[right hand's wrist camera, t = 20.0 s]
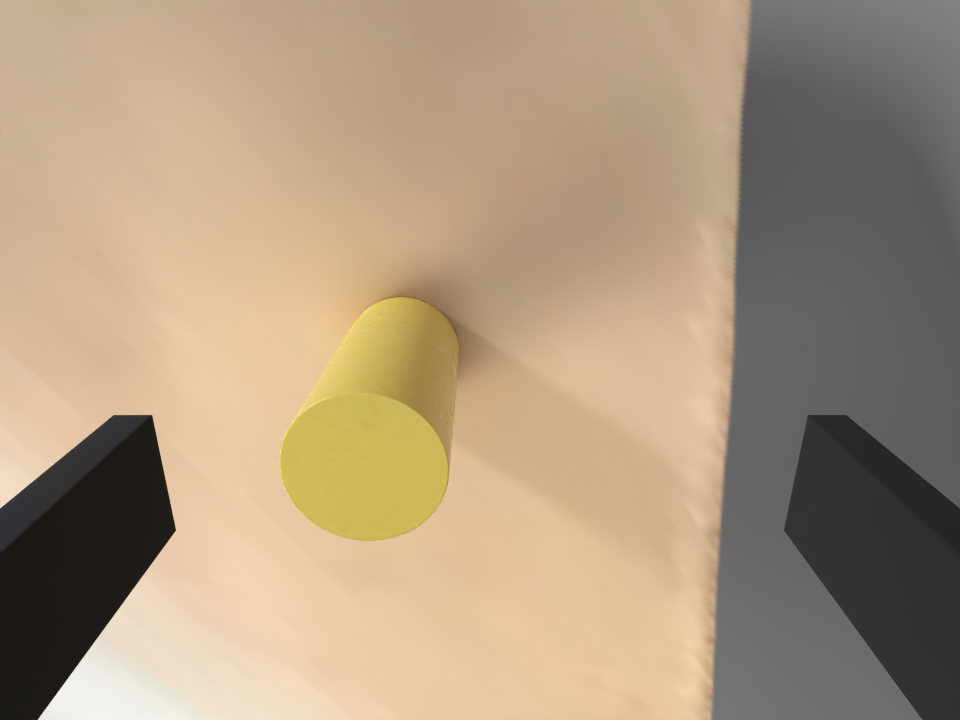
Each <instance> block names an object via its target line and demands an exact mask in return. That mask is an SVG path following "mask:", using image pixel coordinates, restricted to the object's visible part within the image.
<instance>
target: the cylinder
mask: <svg viewBox="0 0 960 720" xmlns="http://www.w3.org/2000/svg"><path fill="white" fill-rule="evenodd" d="M458 361H459V345H458V340H457V336H456V333H455V331H454V329H453V327H452V325H451V324H450V322H449V321H448V320H447V318H446V317H445V316H444V315H443V314H442V313H441V312H440V311H439V310H437V309H436V308H435V307H433V306H431V305H430V304H428V303H426V302H423V301H421V300H417V299H413V298H406V297H395V298H389V299H385V300H382V301H379V302H377V303H375V304H373V305H371V306H370V307H368V308H367V309H366V310H365V311H363V312H362V313H361V314H360V316H359V317H358V318H357V319H356V321H355V322H354V324H353V325H352V327H351V329H350V330H349V332H348V334H347V335H346V337H345V338H344V340H343V342H342V343H341V345H340V346H339V348H338V350H337V351H336V353H335V354H334V356H333V358H332V359H331V361H330V362H329V364H328V366H327V367H326V369H325V370H324V372H323V374H322V375H321V377H320V378H319V380H318V382H317V383H316V385H315V387H314V388H313V390H312V391H311V393H310V395H309V396H308V398H307V399H306V401H305V403H304V404H303V406H302V407H301V409H300V411H299V412H298V414H297V415H296V417H295V419H294V420H293V422H292V423H291V425H290V427H289V428H288V430H287V432H286V434H285V436H284V439H283V442H282V445H281V450H280V456H279V467H280V474H281V478H282V482H283V485H284V487H285V490H286V492H287V494H288V496H289V497H290V499H291V501H292V502H293V504H294V505H295V506H296V507H297V509H298V510H299V511H300V512H301V513H302V514H303V515H304V516H305V517H306V518H307V519H309V520H310V521H311V522H313V523H314V524H315V525H317V526H319V527H320V528H322V529H324V530H326V531H328V532H330V533H333V534H335V535H338V536H341V537H345V538H349V539H354V540H364V541H375V540H384V539H389V538H393V537H397V536H400V535H402V534H405V533H407V532H409V531H411V530H413V529H415V528H416V527H418V526H419V525H421V524H422V523H423V522H424V521H426V520H427V519H428V518H429V517H430V516H431V515H432V514H433V512H434V511H435V510H436V509H437V507H438V506H439V504H440V503H441V501H442V499H443V496H444V494H445V492H446V488H447V485H448V478H449V468H450V456H451V444H452V432H453V420H454V408H455V397H456V385H457V373H458Z"/></svg>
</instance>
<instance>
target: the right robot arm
mask: <svg viewBox="0 0 960 720" xmlns="http://www.w3.org/2000/svg"><path fill="white" fill-rule="evenodd" d="M175 531H176V528H175V523H174V519H173V514H172V509H171V504H170V499H169V495H168V490H167V485H166V480H165V475H164V470H163V466H162V461H161V456H160V451H159V446H158V442H157V437H156V432H155V427H154V422H153V418H152V415H113V416H112V417H111V418H110V419H109V420H107V421H106V422H105V423H104V424H102V425H101V426H100V427H99V428H98V429H96V430H95V431H94V432H93V433H92V434H90V435H89V436H88V437H87V438H85V439H84V440H83V441H82V442H81V443H79V444H78V445H77V446H76V447H75V448H73V449H72V450H71V451H70V452H68V453H67V454H66V455H65V456H64V457H62V458H61V459H60V460H59V461H57V462H56V463H55V464H54V465H53V466H51V467H50V468H49V469H48V470H47V471H45V472H44V473H43V474H42V475H40V476H39V477H38V478H37V479H36V480H34V481H33V482H32V483H31V484H29V485H28V486H27V487H26V488H25V489H23V490H22V491H21V492H20V493H19V494H17V495H16V496H15V497H14V498H12V499H11V500H10V501H9V502H8V503H6V504H5V505H4V506H3V507H2V508H0V720H38V718H39V717H40V716H41V714H42V713H43V712H44V710H45V709H46V707H47V706H48V705H49V703H50V702H51V701H52V699H53V698H54V696H55V695H56V694H57V692H58V691H59V690H60V688H61V687H62V686H63V684H64V683H65V681H66V680H67V679H68V677H69V676H70V675H71V673H72V672H73V670H74V669H75V668H76V666H77V665H78V664H79V662H80V661H81V660H82V658H83V657H84V655H85V654H86V653H87V651H88V650H89V649H90V647H91V646H92V644H93V643H94V642H95V640H96V639H97V638H98V636H99V635H100V634H101V632H102V631H103V629H104V628H105V627H106V625H107V624H108V623H109V621H110V620H111V618H112V617H113V616H114V614H115V613H116V612H117V610H118V609H119V608H120V606H121V605H122V603H123V602H124V601H125V599H126V598H127V597H128V595H129V594H130V592H131V591H132V590H133V588H134V587H135V586H136V584H137V583H138V582H139V580H140V579H141V577H142V576H143V575H144V573H145V572H146V571H147V569H148V568H149V566H150V565H151V564H152V562H153V561H154V560H155V558H156V557H157V556H158V554H159V553H160V551H161V550H162V549H163V547H164V546H165V545H166V543H167V542H168V540H169V539H170V538H171V536H172V535H173V534H174V532H175ZM784 531H785V532H786V534H787V535H788V536H789V538H790V539H791V540H792V542H793V543H794V545H795V546H796V547H797V549H798V550H799V551H800V553H801V554H802V556H803V557H804V558H805V560H806V561H807V562H808V564H809V565H810V566H811V568H812V569H813V571H814V572H815V573H816V575H817V576H818V577H819V579H820V580H821V582H822V583H823V584H824V586H825V587H826V588H827V590H828V591H829V592H830V594H831V595H832V597H833V598H834V599H835V601H836V602H837V603H838V605H839V606H840V608H841V609H842V610H843V612H844V613H845V614H846V616H847V617H848V618H849V620H850V621H851V623H852V624H853V625H854V627H855V628H856V629H857V631H858V632H859V634H860V635H861V636H862V638H863V639H864V640H865V642H866V643H867V644H868V646H869V647H870V649H871V650H872V651H873V653H874V654H875V655H876V657H877V658H878V660H879V661H880V662H881V664H882V665H883V666H884V668H885V669H886V670H887V672H888V673H889V675H890V676H891V677H892V679H893V680H894V681H895V683H896V684H897V686H898V687H899V688H900V690H901V691H902V692H903V694H904V695H905V697H906V698H907V699H908V701H909V702H910V703H911V705H912V706H913V707H914V709H915V710H916V712H917V713H918V714H919V716H920V717H921V718H922V720H960V508H958V507H957V506H956V505H955V504H954V503H952V502H951V501H950V500H949V499H948V498H946V497H945V496H944V495H943V494H941V493H940V492H939V491H938V490H937V489H935V488H934V487H933V486H932V485H931V484H929V483H928V482H927V481H926V480H924V479H923V478H922V477H921V476H920V475H918V474H917V473H916V472H915V471H913V470H912V469H911V468H910V467H909V466H907V465H906V464H905V463H904V462H903V461H901V460H900V459H899V458H898V457H896V456H895V455H894V454H893V453H892V452H890V451H889V450H888V449H887V448H885V447H884V446H883V445H882V444H881V443H879V442H878V441H877V440H876V439H875V438H873V437H872V436H871V435H870V434H868V433H867V432H866V431H865V430H864V429H862V428H861V427H860V426H859V425H858V424H856V423H855V422H854V421H853V420H851V419H850V418H849V417H848V416H846V415H808V418H807V422H806V427H805V432H804V437H803V442H802V447H801V451H800V456H799V461H798V466H797V470H796V475H795V480H794V485H793V490H792V495H791V499H790V504H789V509H788V514H787V519H786V524H785V528H784Z"/></svg>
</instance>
